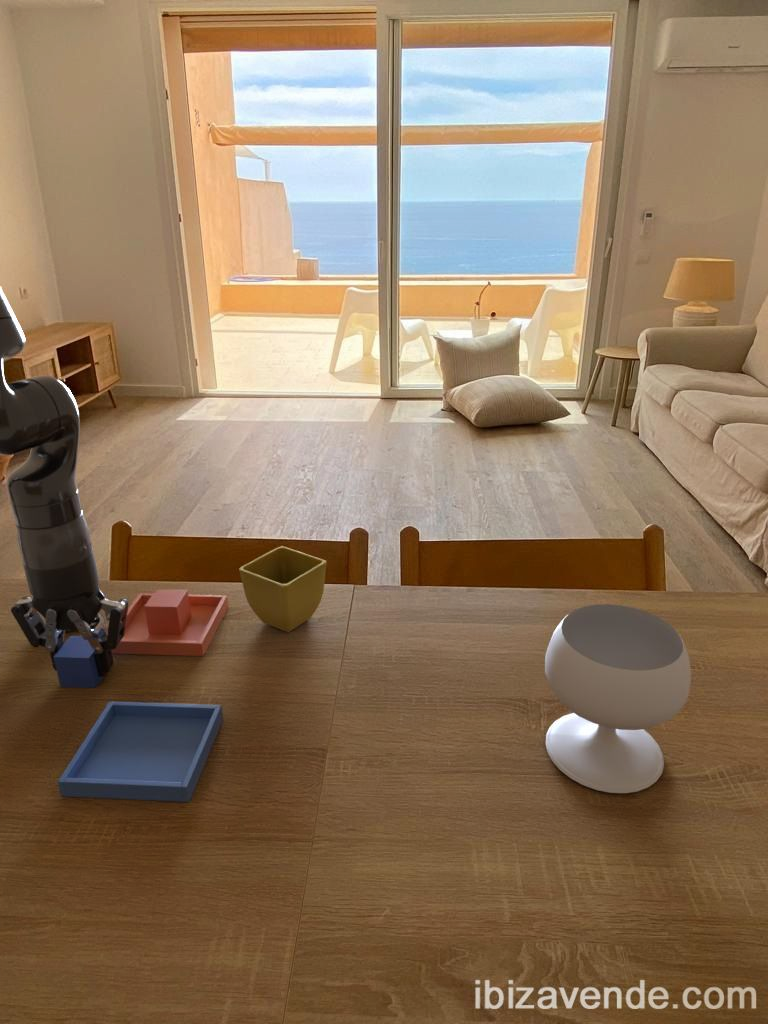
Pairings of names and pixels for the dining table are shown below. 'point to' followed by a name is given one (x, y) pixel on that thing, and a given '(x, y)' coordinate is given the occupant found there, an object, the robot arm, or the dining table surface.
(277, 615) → the flower pot
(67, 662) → the slate-blue block
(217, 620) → the terracotta tray
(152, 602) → the terracotta block
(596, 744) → the chalice
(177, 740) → the slate-blue tray
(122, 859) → the dining table surface
